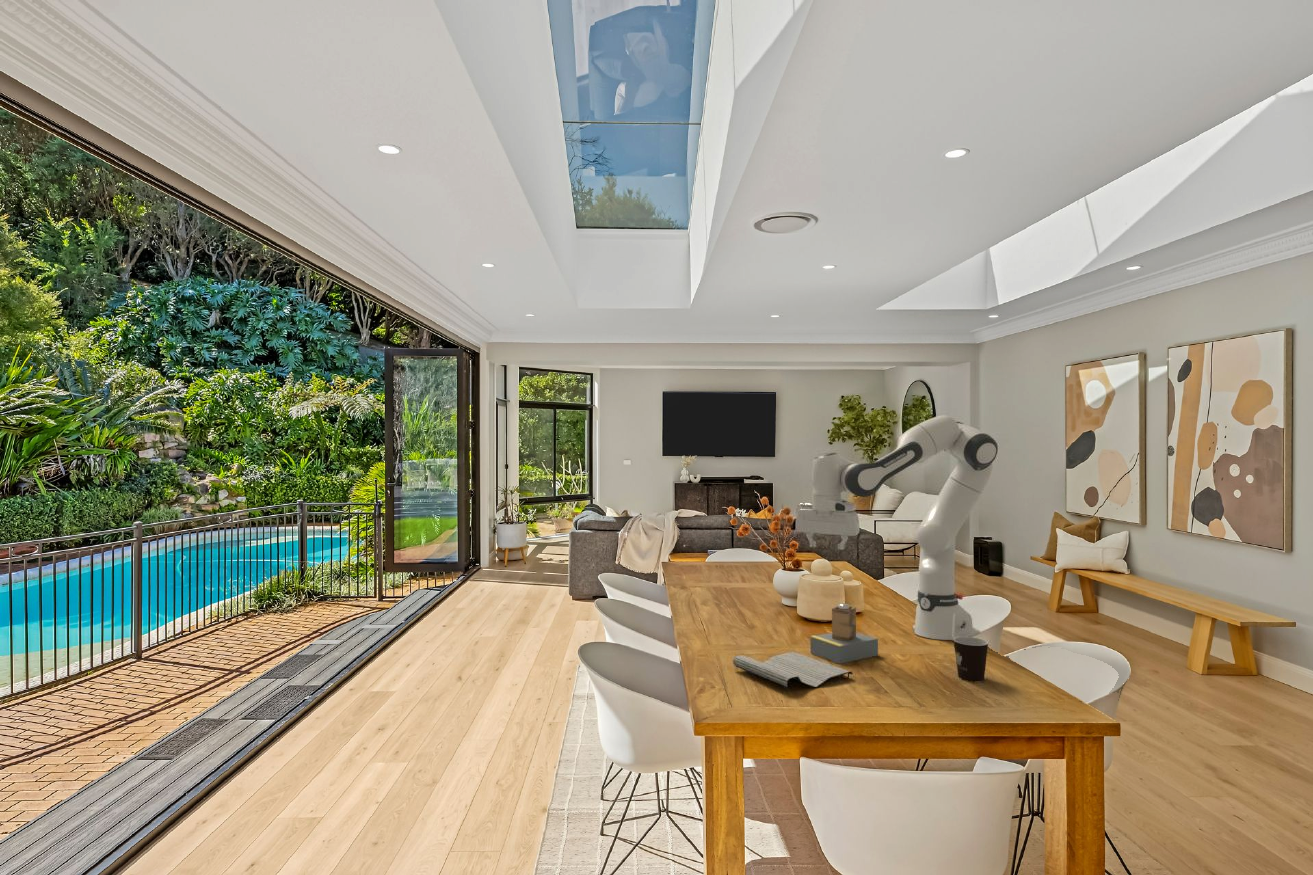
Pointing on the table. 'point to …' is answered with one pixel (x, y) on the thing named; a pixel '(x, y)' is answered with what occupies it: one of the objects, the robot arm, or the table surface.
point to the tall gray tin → (844, 624)
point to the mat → (791, 669)
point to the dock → (844, 647)
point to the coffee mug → (970, 658)
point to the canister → (843, 606)
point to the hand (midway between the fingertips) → (826, 548)
